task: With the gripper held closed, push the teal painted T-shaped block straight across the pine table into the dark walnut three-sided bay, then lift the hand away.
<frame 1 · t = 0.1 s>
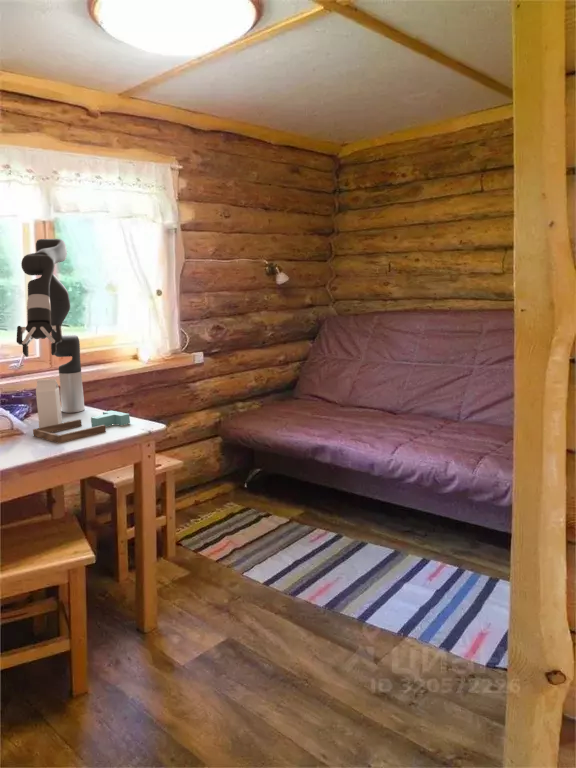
hand: (39, 355, 205), 31 cm above the table, tool tilted 20°, fingers open, 8 cm apart
bay: (71, 433, 225), on the table
T-block: (108, 424, 237), on the table
milk carton: (51, 427, 236), on the table
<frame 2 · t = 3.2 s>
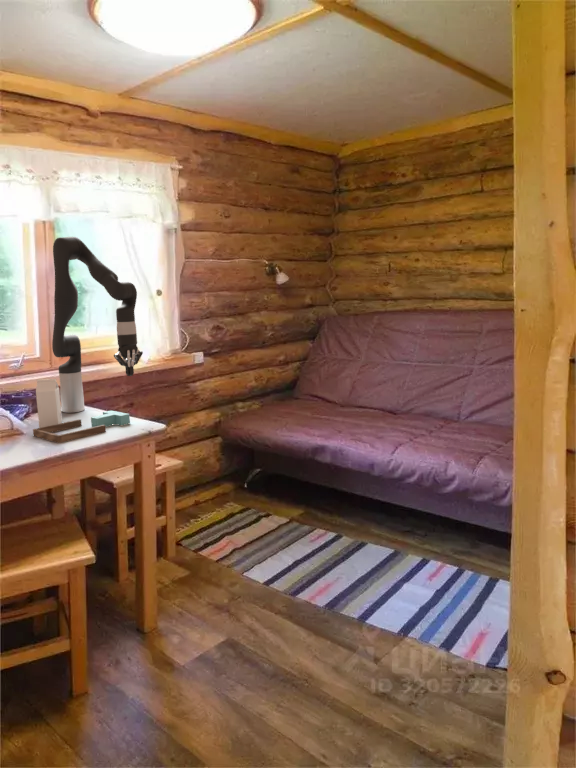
hand: (129, 375, 243), 18 cm above the table, tool pointing down, fingers closed
nothing on the table moved.
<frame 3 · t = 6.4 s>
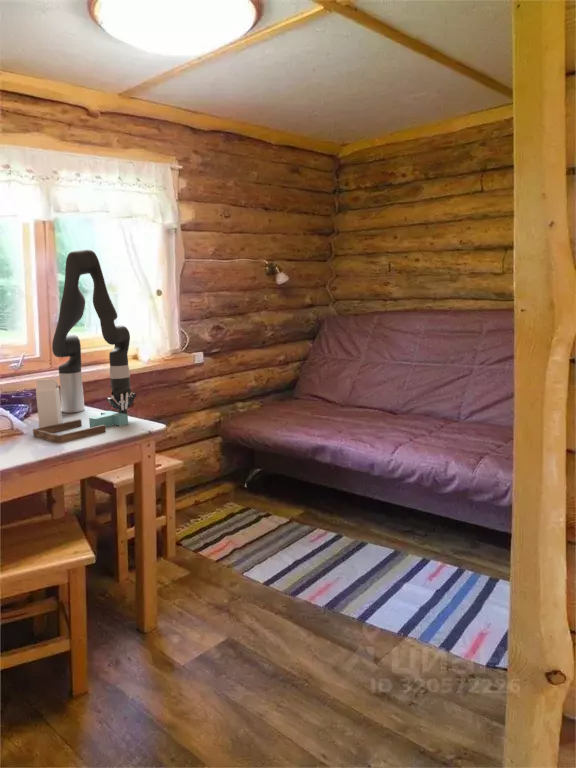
hand: (123, 418, 242), 1 cm above the table, tool pointing down, fingers closed
T-block: (106, 425, 236), on the table, touching gripper
everything else where it was.
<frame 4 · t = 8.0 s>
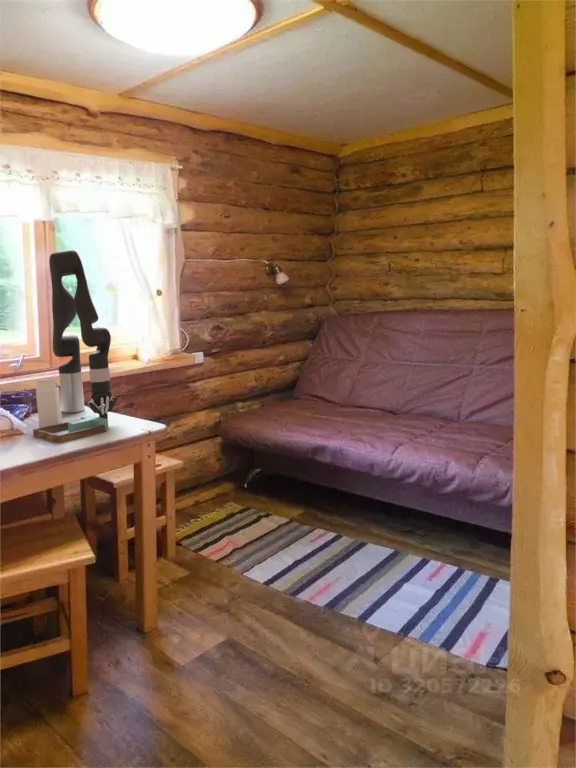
hand: (103, 423, 235), 1 cm above the table, tool pointing down, fingers closed
T-block: (85, 430, 229), on the table, touching gripper
everything else where it was.
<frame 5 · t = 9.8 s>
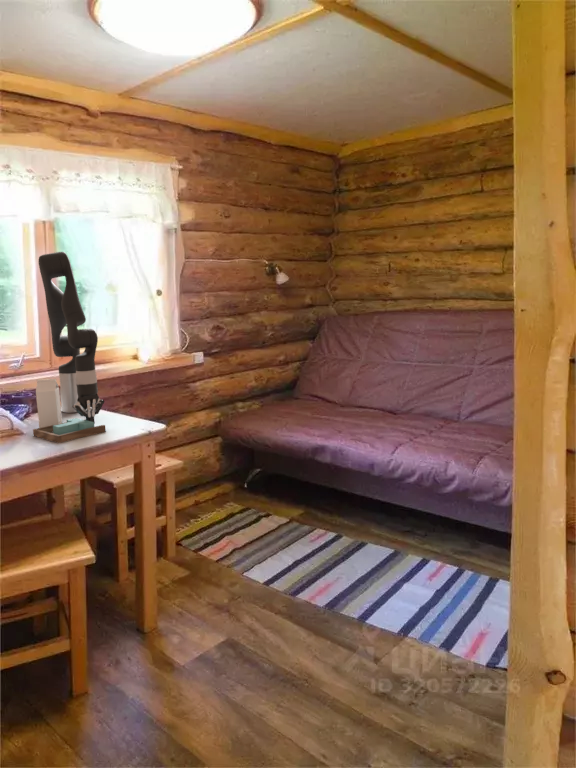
hand: (90, 426, 231), 1 cm above the table, tool pointing down, fingers closed
T-block: (71, 433, 225), on the table, touching gripper
everything else where it was.
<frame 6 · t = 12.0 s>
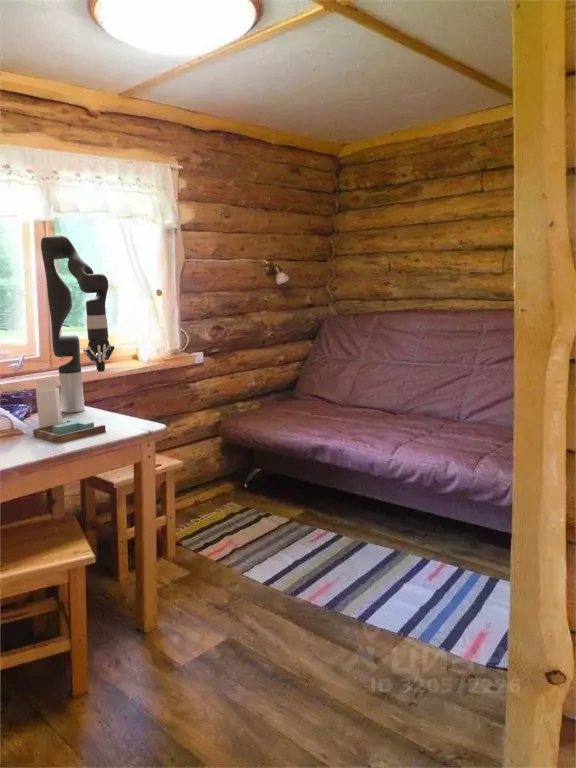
hand: (100, 371, 234), 21 cm above the table, tool pointing down, fingers closed
T-block: (71, 433, 225), on the table
everything else where it was.
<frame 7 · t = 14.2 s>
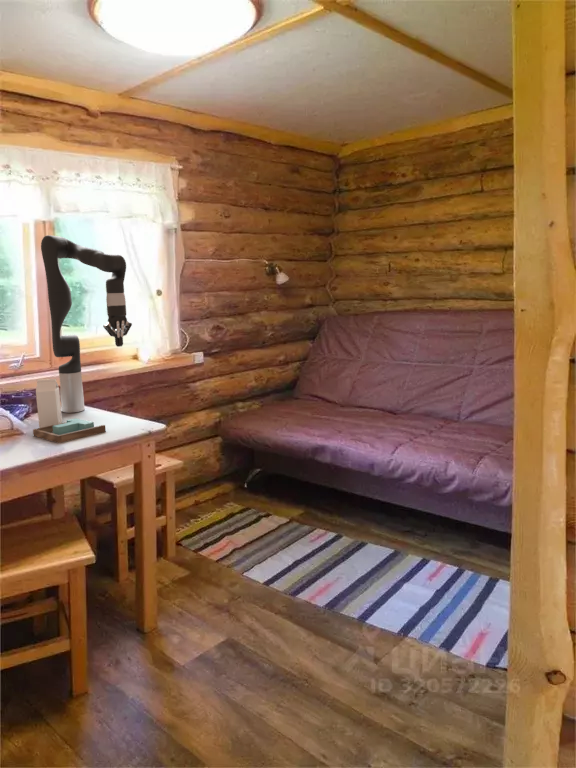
hand: (119, 346, 250), 29 cm above the table, tool pointing down, fingers closed
nothing on the table moved.
at the end: T-block 0.4 cm off-centre on the bay, point 0.0 cm above the bay's base; T-block tilted 0°; milk carton moved 0.2 cm from its start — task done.
